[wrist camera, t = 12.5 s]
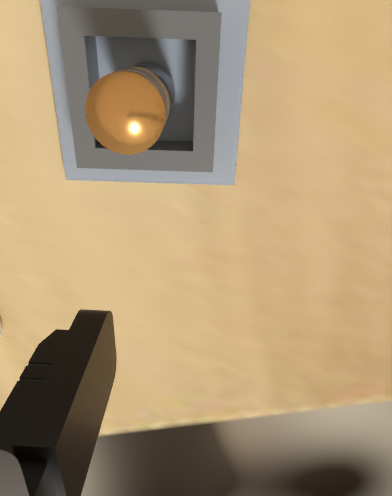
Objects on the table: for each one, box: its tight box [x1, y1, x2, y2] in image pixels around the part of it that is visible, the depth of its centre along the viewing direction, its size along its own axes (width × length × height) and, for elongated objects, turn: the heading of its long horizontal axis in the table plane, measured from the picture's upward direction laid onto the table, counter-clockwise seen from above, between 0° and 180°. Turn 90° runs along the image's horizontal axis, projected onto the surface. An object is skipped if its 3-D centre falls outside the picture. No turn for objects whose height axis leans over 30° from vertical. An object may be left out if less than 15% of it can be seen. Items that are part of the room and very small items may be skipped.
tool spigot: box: [85, 62, 175, 155], centre depth 23 cm, size 4×4×10 cm
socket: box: [40, 0, 250, 185], centre depth 27 cm, size 14×14×4 cm
